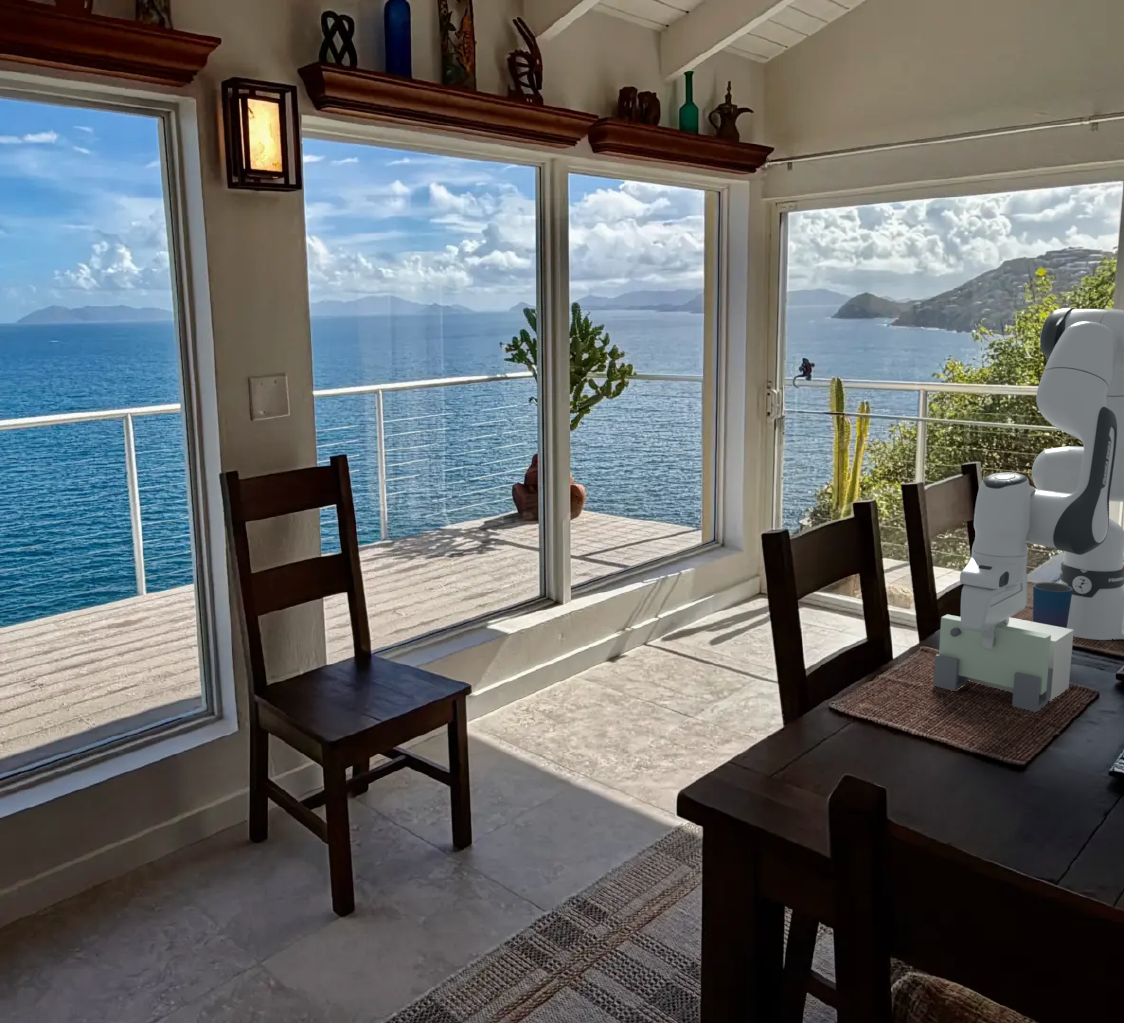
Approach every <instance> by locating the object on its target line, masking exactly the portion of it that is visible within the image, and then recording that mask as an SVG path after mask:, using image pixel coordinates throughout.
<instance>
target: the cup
mask: <svg viewBox="0 0 1124 1023" xmlns="http://www.w3.org/2000/svg"><path fill="white" fill-rule="evenodd" d="M1032 589H1033V591H1032V622H1037V623H1042V624H1047V625H1052V626H1057V627H1063V628H1067V623H1068V617H1069V610H1070V604H1071V598H1072V591H1073V588H1072V587H1070V586H1068V585H1064V584H1059V582H1048V581H1047V582H1044V581H1043V582H1036V583H1034V584H1033V586H1032Z"/></svg>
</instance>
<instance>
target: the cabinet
mask: <svg viewBox="0 0 1124 1023" xmlns="http://www.w3.org/2000/svg"><path fill="white" fill-rule="evenodd" d="M1008 626H1009V627H1014V628H1019V629H1024V630H1029V631H1034V632H1039V633H1045V634H1050V635H1051V642H1050V654H1049V666H1048V679H1047V691H1046V692H1044V693H1043V694H1042V695H1040V694H1039V692H1040V680H1041V678H1039V677H1035V676H1031V675H1026V674H1022V673H1018V672H1016V673H1015V674H1014V687H1013V688H1010V687H1006V686H1002V685H998V684H994V683H989V682H985V681H981V680H977V679H972V678H968V677H964V676H960V675H958V666H959V659H956V658H952V657H948V656H943V655H939V653H937V654H935V655H934V666H933V667H934V668H933V669H934V671H933V686H938V687H942V688H946V689H950V690H954V691H955V690H957V689H958V688H960V687H961V686H963V685H965V684H966V683H967V684H968V682H967V680H970V681H973V682H976V683H979V684H983V685H986V686H990V687H993V688H992V689H994V688H998V689H1000V690H999V691H1002V690H1004V691H1003V692H1007V691H1009V692H1008V693H1011V692H1013V693H1012V701H1011V702H1012V703H1011V707H1012V706H1016V707H1018V708H1017V709H1019V708H1022V709H1021V710H1023V709H1026V710H1025V711H1027V710H1030V711H1029V712H1031V711H1033V712H1032V713H1035V712H1037V711H1038V712H1039V711H1041V710H1042V709H1043V708H1044V707H1046V706H1047V705H1048V701H1051V700H1052V699H1054V698H1055V697H1056V698H1058V697H1059V696H1061V695H1062V694H1064V692H1065V690H1066V689H1067V690H1068V689H1069V688H1070V678H1071V666H1072V665H1071V664H1072V653H1073V642H1074V641H1073V640H1074V636H1073V632H1074V630H1073V629H1068V628H1063V627H1057V626H1052V625H1047V624H1042V623H1037V622H1033V620H1032V621H1031V620H1026V619H1020V618H1015V617H1012V616H1011V617H1009V623H1008ZM933 686H932V687H933ZM986 686H985V687H986ZM990 687H989V688H990ZM998 689H997V690H998ZM1067 690H1066V691H1067ZM1061 693H1062V694H1061ZM1057 696H1058V697H1057ZM1056 698H1055V699H1056ZM1055 699H1054V700H1055ZM1052 701H1053V700H1052ZM1052 701H1051V702H1052ZM1046 704H1047V705H1046ZM1045 705H1046V706H1045ZM1042 707H1043V708H1042ZM1041 708H1042V709H1041ZM1038 712H1037V713H1038Z"/></svg>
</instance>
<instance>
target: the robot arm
mask: <svg viewBox="0 0 1124 1023" xmlns="http://www.w3.org/2000/svg"><path fill="white" fill-rule="evenodd" d="M1039 338H1040V339H1039V346H1040V352H1041V353H1042V355H1043V356H1044V357H1045V358H1046V359H1047V361H1046V364H1045V366H1044V370H1043V373H1042V375H1041V378H1040V381H1039V384H1038V386H1037V391H1036V394H1035V395H1036V399H1035V401H1036V406H1037V409H1038V411H1039V413H1040V414H1041V415H1042V417H1043V418H1044V420H1046V421H1047V422H1048V423H1049V424H1050V425H1052V426H1053V427H1054V428H1057V429H1058V430H1060V431H1061V432H1064V433H1066V434H1068V435H1070V436H1072V437H1074V438H1075V439H1077V440H1079V441H1081V442H1082V445H1083V446H1075V445H1073V446H1072V445H1071V446H1070V445H1067V446H1060V447H1059V446H1057V447H1052V448H1051V447H1050V448H1045V449H1043V450H1042V451H1041V452H1040V453H1039V454H1038V455H1037V456H1036V458H1035V460H1034V461H1033V464H1032V468H1031V480H1032V483H1033V485H1034V486H1035V487H1034V486H1032V485H1031V484H1030V480H1029V478H1028V477H1027V476H1026V475H1024V474H1021V473H1018V472H1006V471H1005V472H996V473H991V474H989V475H988V476H987V475H986V476H985V477H984V478H982V480H981V481H980V484H979V487H978V491H977V496H976V500H975V507H974V514H973V528H974V531H975V533H974V534H975V537H974V541H973V543H972V548H971V556H970V558H969V560H968V563H967V564H966V565H965V566H964V568H963V569H962V570H961V572H960V575H959V583H960V584H961V585H963V587H962V589H961V595H960V617H961V624H962V626H963V628H964V629H966V630H971V631H976V632H981V635H982V646H983V647H985V648H989V649H991V648H992V647H994V646H995V642H996V637H994V631H993V630H995V625H996V624H999V625H1004V626H1008V623H1009V617H1011V618H1012V616H1014V615H1016V614H1018V613H1019V612H1022V611H1023V610H1025V609H1026V606H1027V603H1028V574H1027V568H1028V567H1027V566H1028V565H1027V564H1028V552H1029V550H1028V545H1027V543H1029V544H1032V545H1036V546H1042V547H1048V548H1053V549H1057V550H1059V551H1063V552H1064V554H1063V561H1062V562H1061V563H1060V567H1059V579H1060V580H1059V582H1058V583H1059V584H1064V585H1068V586H1070V587H1072V588H1073V591H1072V598H1071V604H1070V610H1069V617H1068V623H1067V628H1068V629H1073V630H1074V632H1073V638H1079V639H1087V640H1088V639H1089V640H1095V641H1096V640H1097V641H1098V640H1099V641H1108V640H1109V641H1110V640H1112V639H1113V640H1124V529H1123V527H1122V526H1121V525H1120V524H1119V523H1118V522H1116V521H1115V520H1113V519H1111V518H1110V502H1116V503H1117V502H1121V503H1124V309H1119V308H1118V309H1117V308H1109V309H1105V308H1104V309H1103V308H1079V309H1076V308H1075V307H1067V308H1066V307H1064V308H1060V309H1055V310H1054V311H1053V312H1052V313H1050V314H1048V315H1047V317H1046V319H1045V321H1044V323H1043V325H1042V328H1041V330H1040V336H1039ZM1113 640H1112V641H1113Z"/></svg>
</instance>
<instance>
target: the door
mask: <svg viewBox="0 0 1124 1023" xmlns="http://www.w3.org/2000/svg"><path fill="white" fill-rule="evenodd" d="M939 630H940V631H939V648H938V652H939V653H938V654H939V655H943V656H948V657H952V658H956V659H959V666H958V675H960V676H964V677H968V678H972V679H977V680H981V681H985V682H989V683H994V684H998V685H1002V686H1006V687H1010V688H1013V687H1014V674H1015V673H1016V672H1018V673H1022V674H1026V675H1031V676H1035V677H1039V678H1041V680H1040V692H1039V694H1040V695H1042V694H1043V693H1044V692H1046V691H1047V679H1048V666H1049V654H1050V642H1051V635H1050V634H1045V633H1039V632H1034V631H1029V630H1024V629H1019V628H1014V627H1009V626H1004V625H999V624H996V625H995V630H993V631H994V637H996V642H995V646H994V647H992V648H991V649H989V648H985V647H983V646H982V635H981V632H976V631H971V630H966V629H964V628H963V626H962V624H961V616H958V615H951V614H948V613H947V614H945V615H943V616H941V617H940V629H939Z"/></svg>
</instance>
